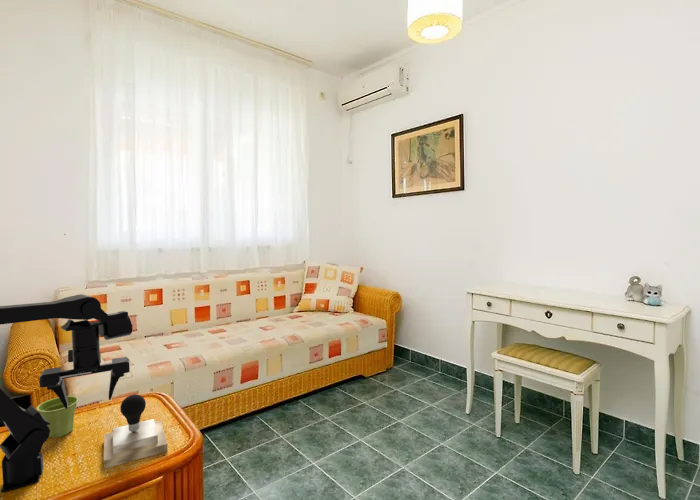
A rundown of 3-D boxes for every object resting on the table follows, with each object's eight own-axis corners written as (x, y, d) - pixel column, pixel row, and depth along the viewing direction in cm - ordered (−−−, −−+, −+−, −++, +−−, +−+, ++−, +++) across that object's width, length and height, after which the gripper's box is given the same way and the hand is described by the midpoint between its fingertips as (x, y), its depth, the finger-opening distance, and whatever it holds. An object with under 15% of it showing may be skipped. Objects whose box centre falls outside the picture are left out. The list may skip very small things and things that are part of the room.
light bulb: (151, 430, 104) (149, 393, 103) (129, 440, 99) (127, 402, 98) (138, 424, 107) (137, 388, 106) (116, 433, 102) (115, 397, 101)
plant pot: (41, 446, 103) (39, 414, 103) (35, 433, 110) (34, 403, 109) (83, 432, 110) (81, 403, 110) (75, 421, 117) (74, 393, 116)
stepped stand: (103, 468, 94) (103, 453, 94) (104, 441, 106) (104, 427, 105) (167, 451, 101) (166, 436, 101) (161, 427, 113) (160, 414, 113)
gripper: (127, 331, 111) (129, 384, 112) (44, 341, 101) (47, 400, 102) (128, 341, 101) (130, 399, 102) (37, 354, 91) (41, 418, 92)
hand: (88, 403), depth 100 cm, fingers open, 9 cm apart
